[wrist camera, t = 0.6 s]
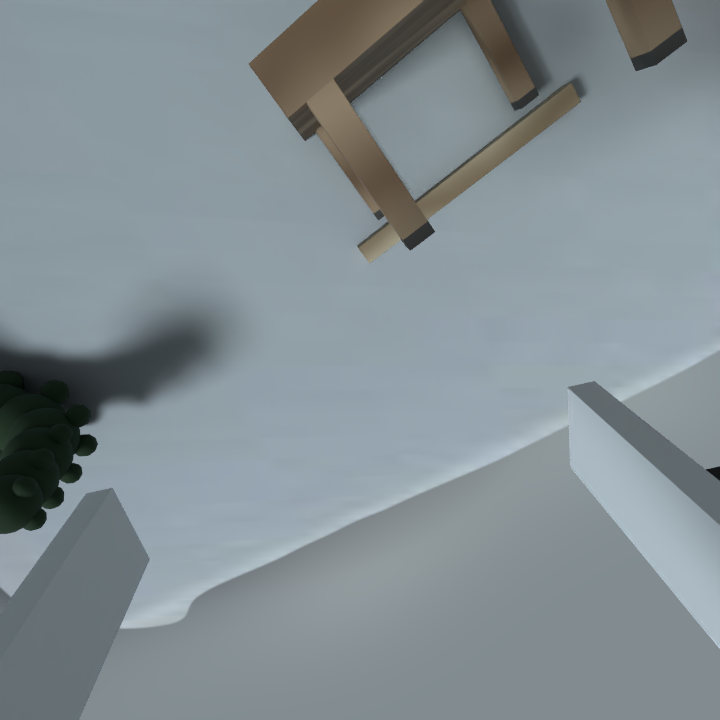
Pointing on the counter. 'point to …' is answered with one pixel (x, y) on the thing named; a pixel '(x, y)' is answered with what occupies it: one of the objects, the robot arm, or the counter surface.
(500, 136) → the oak batten
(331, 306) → the counter surface
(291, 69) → the footstool
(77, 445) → the toy figurine
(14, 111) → the counter surface
